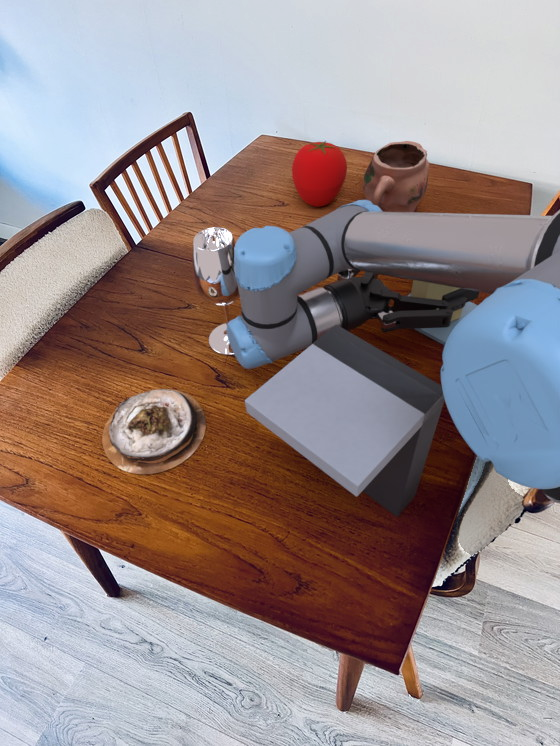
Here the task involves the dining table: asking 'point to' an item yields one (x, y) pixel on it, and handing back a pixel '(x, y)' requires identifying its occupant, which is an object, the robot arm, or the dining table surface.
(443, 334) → the plate
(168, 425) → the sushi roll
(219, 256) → the wineglass
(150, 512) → the dining table surface
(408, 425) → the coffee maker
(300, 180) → the tomato
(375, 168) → the pink ceramic mug
